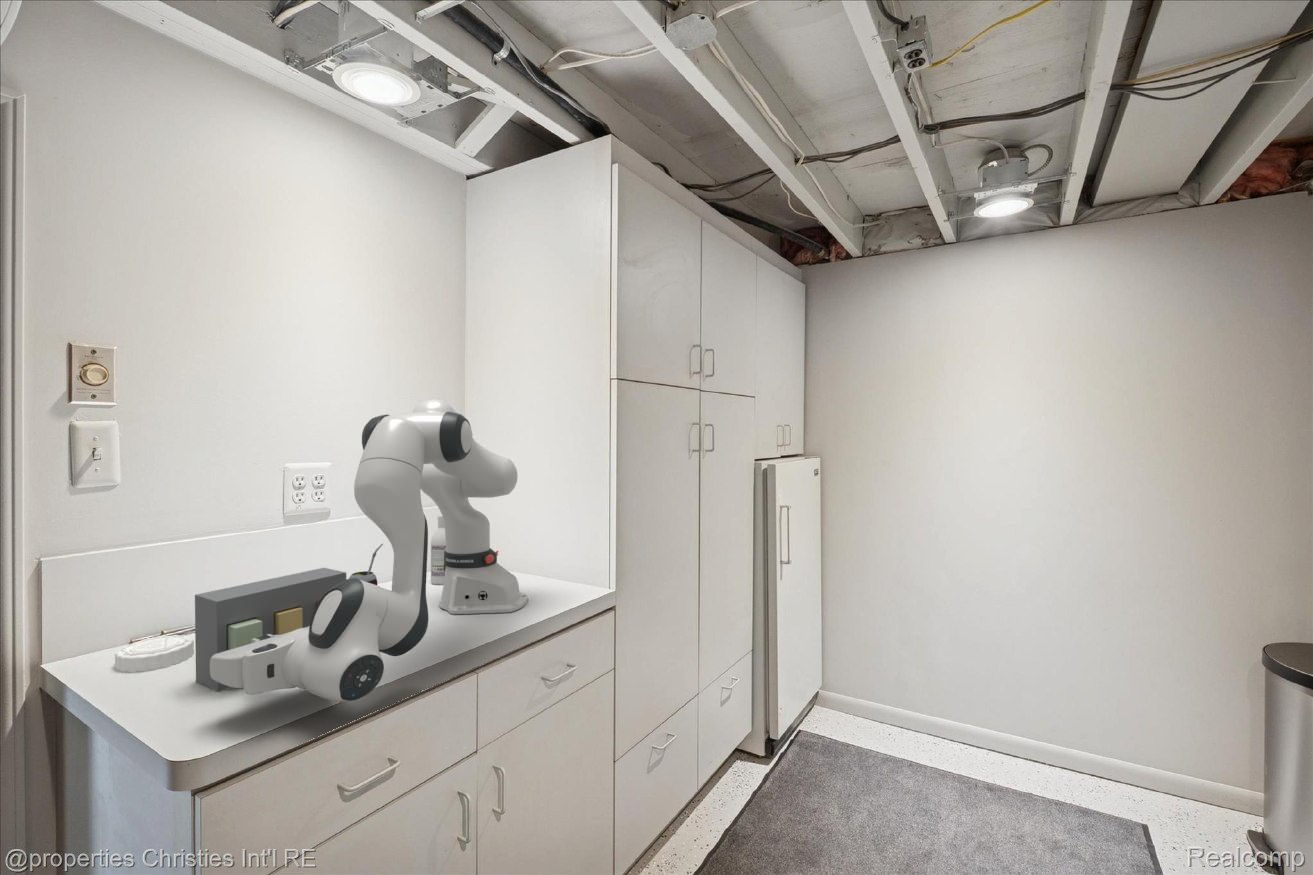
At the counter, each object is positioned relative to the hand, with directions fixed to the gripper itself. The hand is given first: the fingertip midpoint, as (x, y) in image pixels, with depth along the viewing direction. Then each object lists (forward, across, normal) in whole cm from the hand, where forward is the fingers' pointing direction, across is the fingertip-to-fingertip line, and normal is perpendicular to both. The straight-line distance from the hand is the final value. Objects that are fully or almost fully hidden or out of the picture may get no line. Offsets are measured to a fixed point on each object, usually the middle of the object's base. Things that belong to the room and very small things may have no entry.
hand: (259, 640), depth 106 cm
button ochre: (+6, -8, +2) cm, 10 cm away
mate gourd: (+31, -41, +9) cm, 52 cm away
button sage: (+5, 0, +2) cm, 5 cm away
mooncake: (+32, +4, +9) cm, 33 cm away
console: (+10, -8, +9) cm, 15 cm away
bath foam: (+30, -66, +9) cm, 73 cm away
